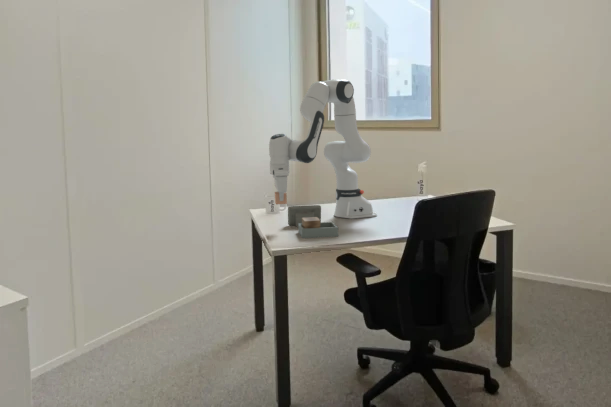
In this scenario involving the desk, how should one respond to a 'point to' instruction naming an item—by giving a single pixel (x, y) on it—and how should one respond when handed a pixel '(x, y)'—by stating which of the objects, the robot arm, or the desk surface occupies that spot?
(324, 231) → the tote
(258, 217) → the desk surface
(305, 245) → the desk surface
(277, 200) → the light cube
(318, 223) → the block
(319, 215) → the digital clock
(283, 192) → the robot arm
